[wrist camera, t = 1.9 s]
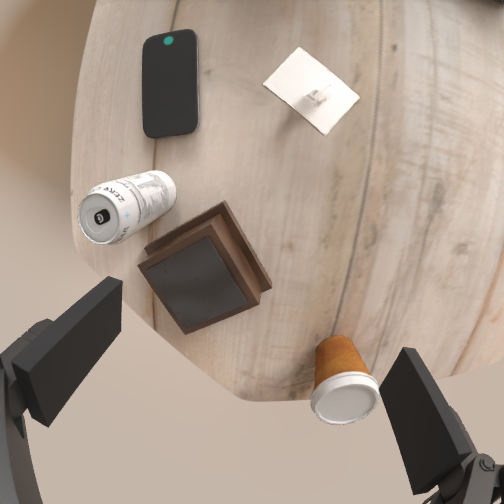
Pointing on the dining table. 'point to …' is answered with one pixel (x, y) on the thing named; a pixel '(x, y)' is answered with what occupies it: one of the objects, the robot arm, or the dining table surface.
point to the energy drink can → (125, 206)
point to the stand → (205, 270)
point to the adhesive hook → (311, 90)
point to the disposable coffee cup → (342, 383)
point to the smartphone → (170, 84)
